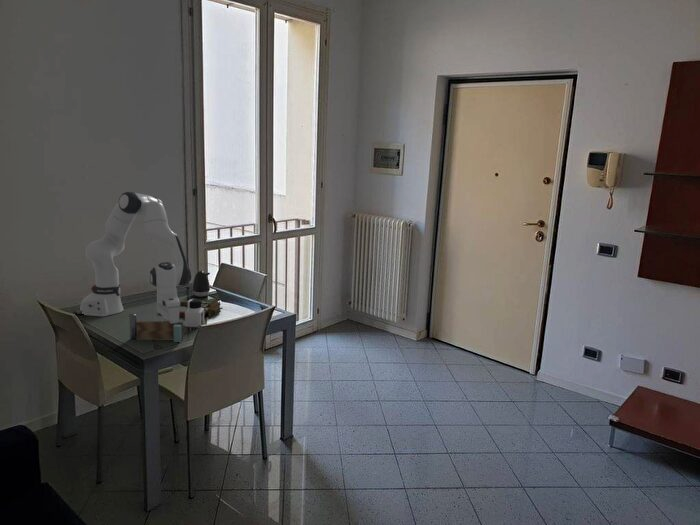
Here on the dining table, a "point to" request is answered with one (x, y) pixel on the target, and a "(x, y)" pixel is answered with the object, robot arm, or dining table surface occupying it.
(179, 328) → the latch post
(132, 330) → the hinge post
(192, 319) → the container
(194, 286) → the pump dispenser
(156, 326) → the gate
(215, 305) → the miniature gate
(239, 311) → the dining table surface
